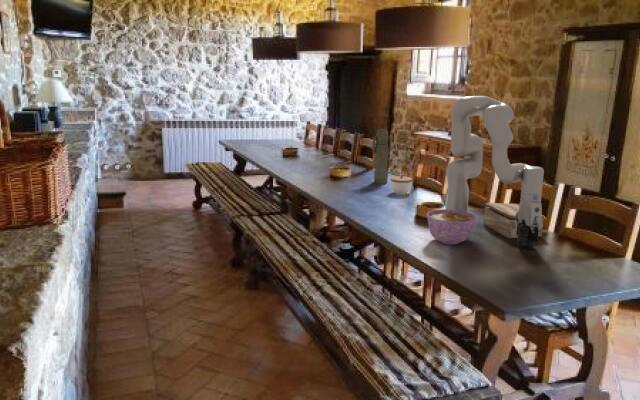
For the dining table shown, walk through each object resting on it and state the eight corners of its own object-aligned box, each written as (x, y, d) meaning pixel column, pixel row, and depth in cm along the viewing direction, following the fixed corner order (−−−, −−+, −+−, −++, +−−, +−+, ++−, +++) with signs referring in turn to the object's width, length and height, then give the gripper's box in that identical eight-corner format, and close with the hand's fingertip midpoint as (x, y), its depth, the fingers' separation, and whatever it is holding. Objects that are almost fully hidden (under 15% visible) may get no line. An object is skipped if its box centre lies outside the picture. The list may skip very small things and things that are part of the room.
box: (507, 238, 218) (509, 220, 216) (483, 223, 239) (484, 207, 237) (541, 236, 220) (543, 218, 218) (514, 222, 241) (516, 206, 239)
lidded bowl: (413, 195, 295) (414, 177, 292) (391, 195, 295) (392, 177, 292) (409, 191, 307) (410, 173, 304) (389, 190, 307) (389, 173, 304)
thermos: (392, 183, 329) (393, 129, 321) (375, 184, 325) (377, 130, 316) (385, 180, 337) (387, 128, 329) (369, 181, 333) (371, 128, 324)
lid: (509, 218, 216) (510, 215, 215) (485, 205, 237) (485, 203, 236) (543, 218, 218) (544, 215, 218) (516, 206, 239) (516, 203, 239)
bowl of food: (438, 231, 227) (439, 206, 224) (481, 240, 215) (483, 214, 212) (416, 242, 212) (418, 216, 209) (461, 252, 200) (463, 224, 197)
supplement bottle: (519, 243, 211) (522, 215, 208) (536, 246, 207) (539, 218, 204) (514, 247, 206) (517, 219, 203) (531, 251, 202) (534, 222, 199)
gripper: (552, 202, 194) (547, 244, 198) (527, 192, 210) (523, 231, 214) (534, 202, 192) (530, 245, 196) (510, 192, 209) (507, 232, 213)
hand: (526, 238), depth 205 cm, fingers open, 9 cm apart
